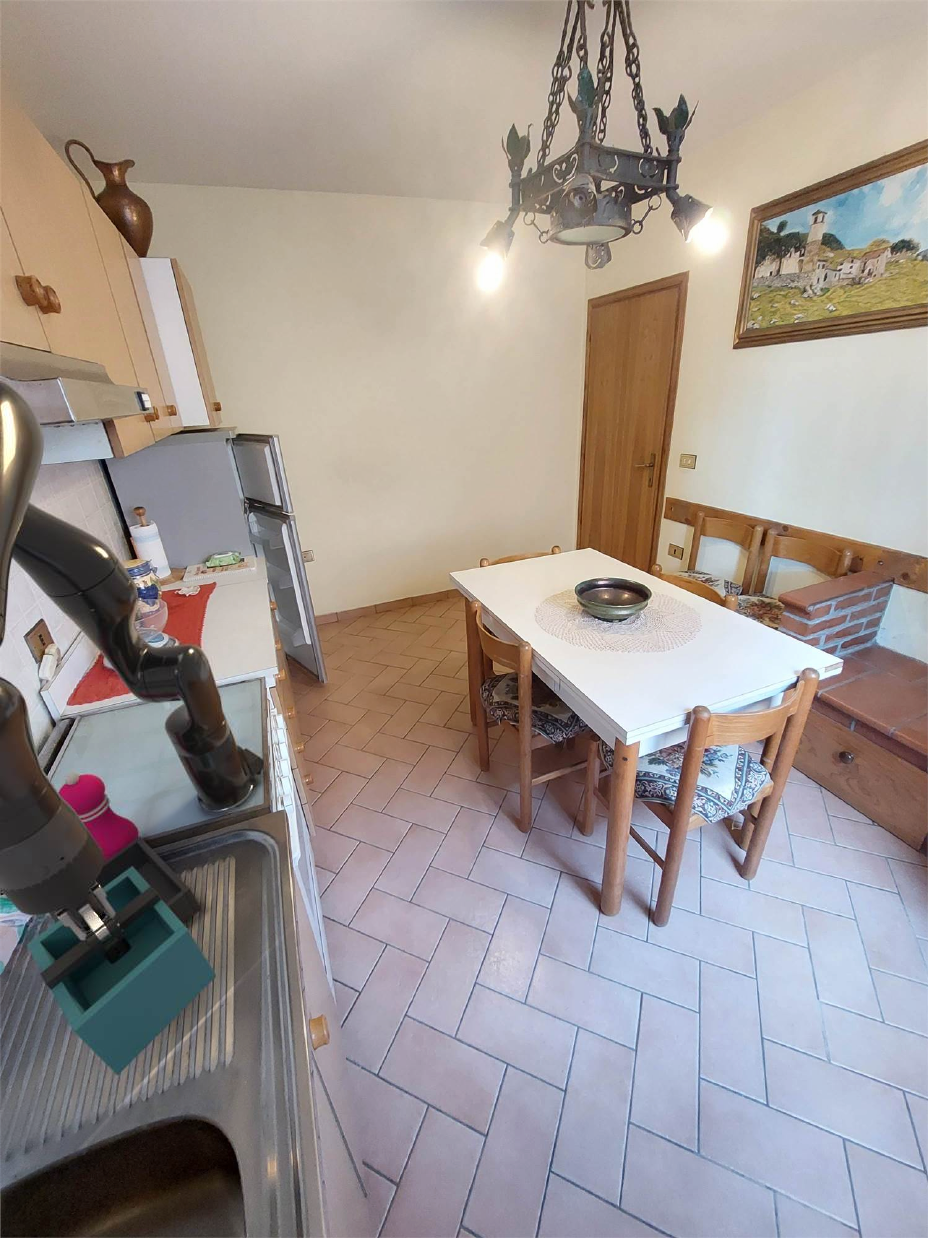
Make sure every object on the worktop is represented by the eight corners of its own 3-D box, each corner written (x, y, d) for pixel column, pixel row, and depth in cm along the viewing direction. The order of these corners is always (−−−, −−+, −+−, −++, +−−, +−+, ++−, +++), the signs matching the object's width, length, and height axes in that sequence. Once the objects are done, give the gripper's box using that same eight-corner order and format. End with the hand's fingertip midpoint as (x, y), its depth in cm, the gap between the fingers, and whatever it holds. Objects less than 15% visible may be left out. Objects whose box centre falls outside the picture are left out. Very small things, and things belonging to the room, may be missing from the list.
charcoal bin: (153, 858, 84) (139, 836, 82) (203, 911, 75) (189, 888, 73) (62, 927, 75) (43, 904, 72) (107, 997, 66) (87, 974, 63)
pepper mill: (125, 880, 81) (67, 795, 72) (89, 874, 83) (28, 791, 73) (157, 841, 87) (107, 759, 78) (123, 837, 89) (70, 755, 79)
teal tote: (161, 911, 68) (128, 860, 63) (217, 976, 60) (184, 923, 55) (68, 990, 60) (20, 938, 55) (117, 1076, 52) (67, 1026, 47)
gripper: (111, 856, 47) (177, 954, 55) (60, 796, 55) (125, 890, 63) (16, 923, 42) (105, 1021, 50) (-26, 846, 50) (58, 942, 58)
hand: (116, 948), depth 57 cm, fingers closed on teal tote
